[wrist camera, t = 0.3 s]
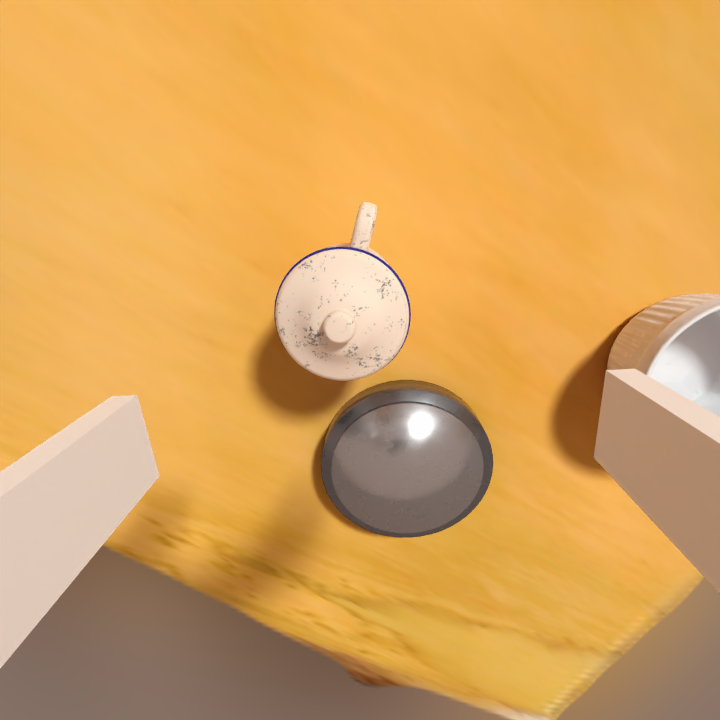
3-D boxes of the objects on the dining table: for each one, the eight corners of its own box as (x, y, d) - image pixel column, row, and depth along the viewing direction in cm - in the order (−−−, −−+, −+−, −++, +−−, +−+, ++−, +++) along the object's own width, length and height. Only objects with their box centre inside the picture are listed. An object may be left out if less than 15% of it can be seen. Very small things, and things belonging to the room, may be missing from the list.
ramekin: (643, 259, 33) (710, 269, 27) (779, 310, 35) (875, 332, 28) (565, 396, 38) (607, 434, 31) (688, 438, 39) (753, 483, 32)
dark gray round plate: (305, 496, 42) (301, 516, 39) (351, 358, 37) (349, 370, 34) (449, 536, 43) (455, 558, 40) (512, 408, 38) (524, 423, 35)
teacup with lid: (385, 355, 37) (392, 413, 26) (287, 331, 36) (251, 380, 25) (424, 219, 33) (451, 220, 22) (315, 190, 32) (286, 175, 21)
